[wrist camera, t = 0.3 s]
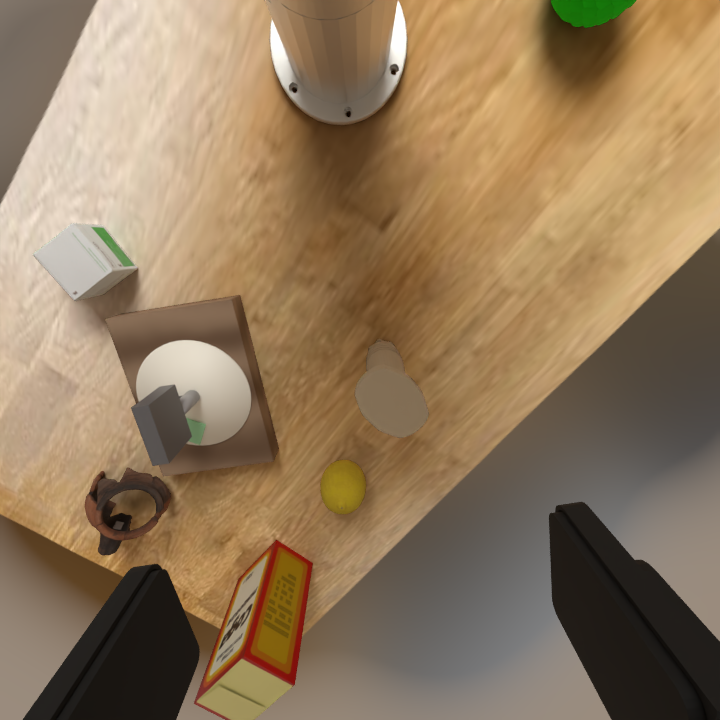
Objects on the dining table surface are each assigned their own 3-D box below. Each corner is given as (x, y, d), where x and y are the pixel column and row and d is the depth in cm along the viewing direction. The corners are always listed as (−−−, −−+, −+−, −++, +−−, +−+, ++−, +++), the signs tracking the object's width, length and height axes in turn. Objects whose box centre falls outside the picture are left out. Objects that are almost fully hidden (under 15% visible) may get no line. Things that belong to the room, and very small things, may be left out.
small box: (140, 268, 42) (113, 271, 37) (103, 296, 43) (72, 303, 38) (103, 222, 40) (70, 220, 36) (66, 252, 41) (28, 254, 37)
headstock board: (121, 313, 43) (104, 319, 40) (240, 295, 43) (231, 299, 40) (174, 462, 49) (163, 476, 47) (278, 448, 49) (273, 461, 46)
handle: (385, 382, 46) (396, 447, 32) (348, 345, 44) (343, 396, 30) (415, 356, 45) (440, 412, 31) (378, 317, 43) (387, 357, 29)
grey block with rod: (133, 379, 42) (75, 415, 34) (191, 370, 42) (148, 405, 33) (150, 427, 44) (99, 473, 35) (206, 419, 44) (169, 463, 35)
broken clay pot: (98, 448, 49) (91, 476, 42) (175, 453, 54) (181, 479, 47) (76, 534, 50) (66, 576, 43) (155, 532, 55) (158, 568, 48)
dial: (120, 349, 41) (118, 350, 41) (235, 331, 41) (234, 332, 40) (158, 451, 45) (156, 453, 45) (263, 436, 45) (262, 438, 44)
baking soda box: (276, 539, 53) (242, 660, 38) (312, 563, 55) (294, 688, 39) (238, 579, 56) (192, 707, 40) (274, 600, 57) (242, 732, 42)
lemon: (323, 484, 50) (317, 527, 43) (323, 447, 49) (316, 486, 41) (365, 484, 50) (366, 528, 43) (366, 448, 49) (367, 487, 41)
